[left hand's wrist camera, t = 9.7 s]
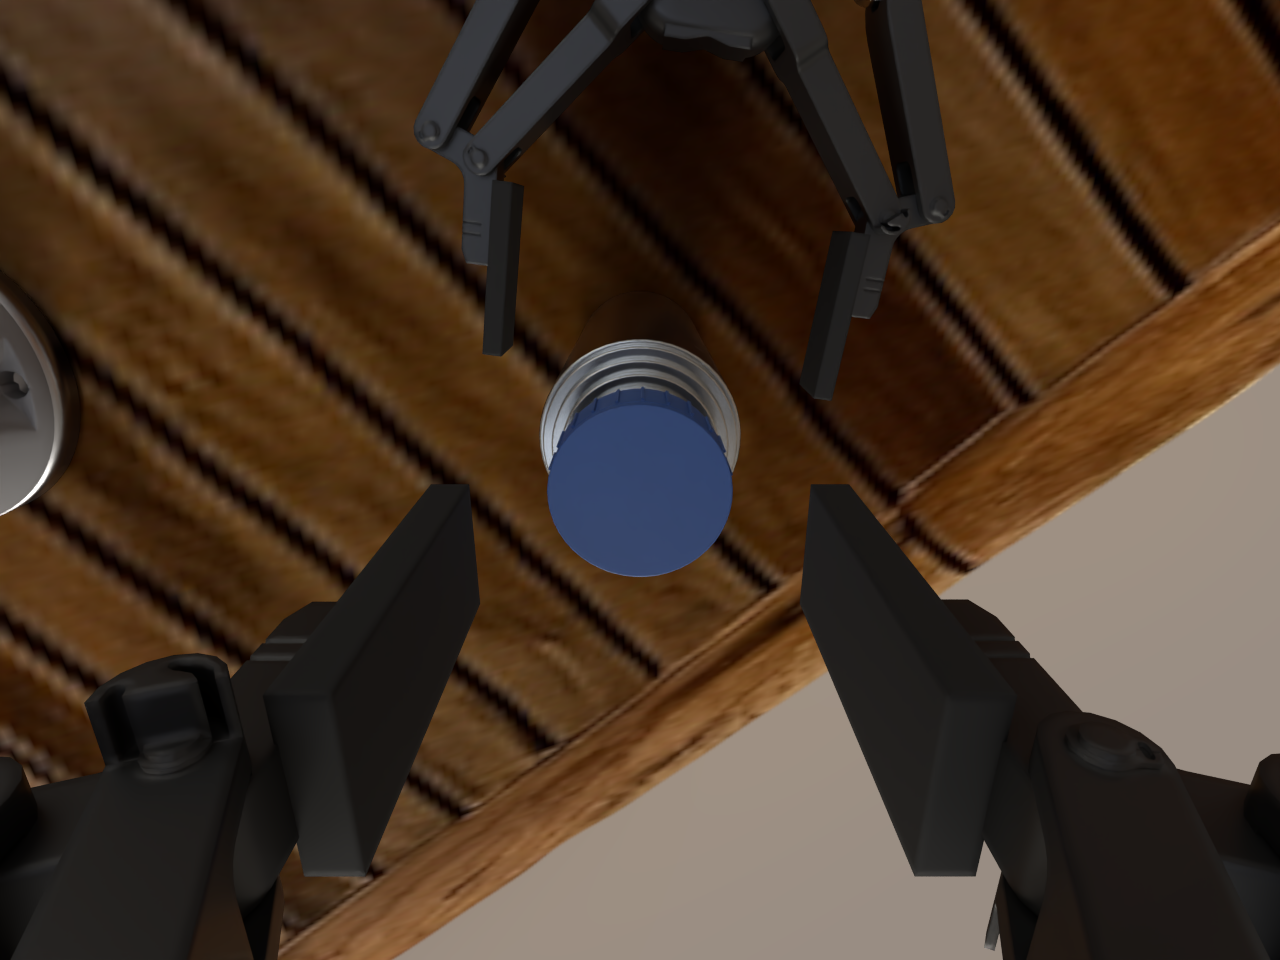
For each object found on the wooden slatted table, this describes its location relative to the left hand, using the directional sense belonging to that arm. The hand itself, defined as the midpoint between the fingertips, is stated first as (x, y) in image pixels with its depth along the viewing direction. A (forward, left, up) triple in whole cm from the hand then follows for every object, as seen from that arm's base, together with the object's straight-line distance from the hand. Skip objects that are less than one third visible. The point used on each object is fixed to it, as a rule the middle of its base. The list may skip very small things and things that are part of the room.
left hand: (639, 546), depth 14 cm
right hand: (0, +1, -16) cm, 16 cm away
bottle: (0, 0, -22) cm, 22 cm away
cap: (0, 0, -3) cm, 3 cm away
